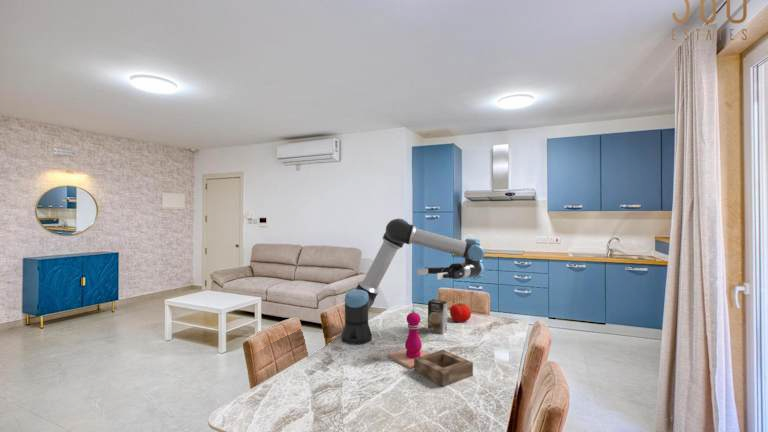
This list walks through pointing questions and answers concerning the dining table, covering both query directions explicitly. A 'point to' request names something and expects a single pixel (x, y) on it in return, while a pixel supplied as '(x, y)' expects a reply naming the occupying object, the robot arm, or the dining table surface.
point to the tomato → (460, 312)
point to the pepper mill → (413, 336)
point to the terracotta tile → (405, 357)
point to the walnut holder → (445, 376)
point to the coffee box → (437, 316)
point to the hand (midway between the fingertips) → (426, 274)
